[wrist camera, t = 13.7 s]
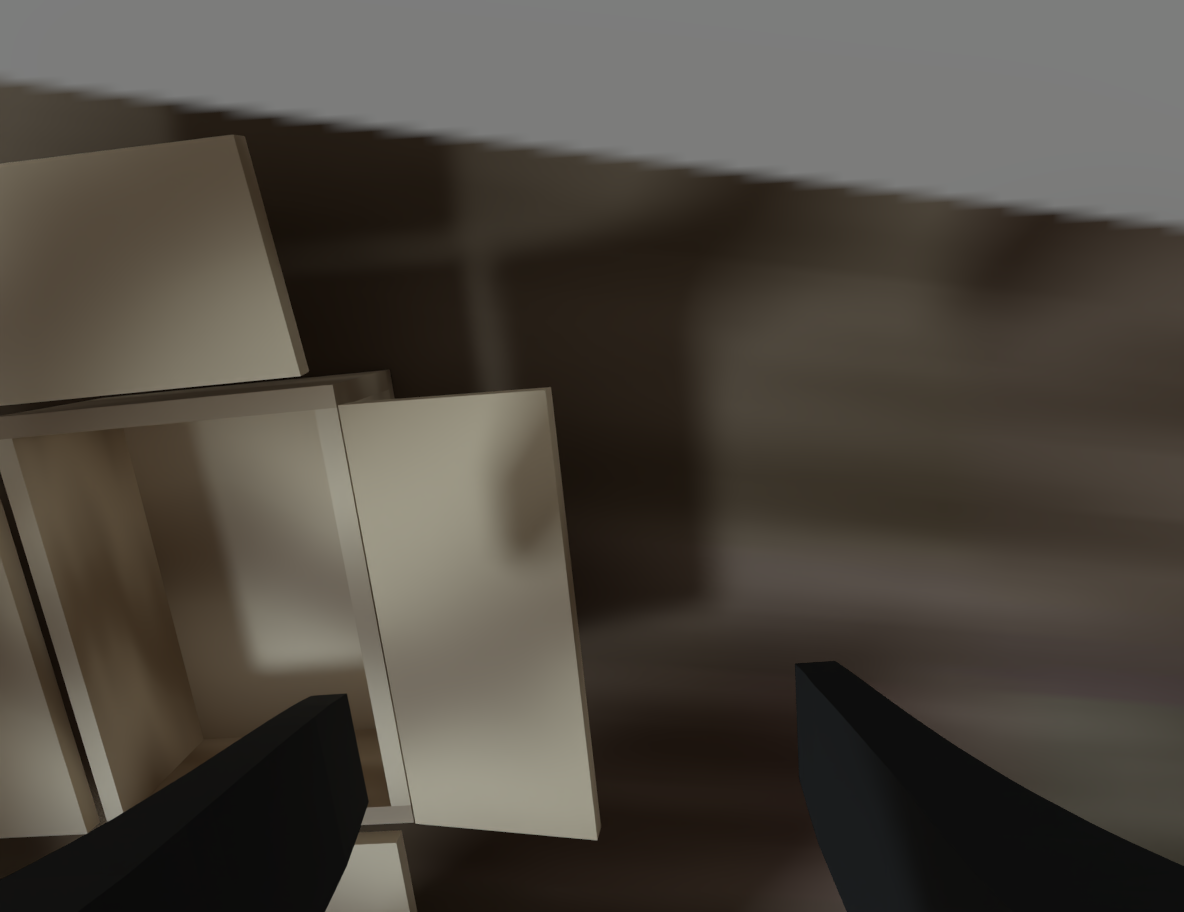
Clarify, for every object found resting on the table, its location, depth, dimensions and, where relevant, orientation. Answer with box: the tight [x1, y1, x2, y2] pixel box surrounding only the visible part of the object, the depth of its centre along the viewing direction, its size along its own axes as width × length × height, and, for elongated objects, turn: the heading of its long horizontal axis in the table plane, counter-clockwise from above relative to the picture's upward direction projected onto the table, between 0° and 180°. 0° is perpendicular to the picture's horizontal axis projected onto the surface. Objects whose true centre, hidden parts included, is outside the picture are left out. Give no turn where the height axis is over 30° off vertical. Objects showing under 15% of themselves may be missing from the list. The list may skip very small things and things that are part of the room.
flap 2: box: [338, 387, 601, 840], centre depth 14 cm, size 10×4×1 cm, turn 6°
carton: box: [0, 370, 417, 912], centre depth 18 cm, size 16×13×4 cm
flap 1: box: [0, 134, 309, 406], centre depth 13 cm, size 4×7×1 cm, turn 96°
